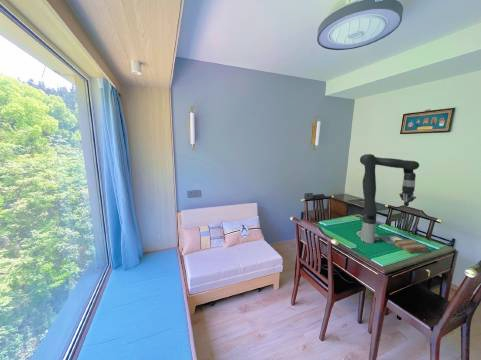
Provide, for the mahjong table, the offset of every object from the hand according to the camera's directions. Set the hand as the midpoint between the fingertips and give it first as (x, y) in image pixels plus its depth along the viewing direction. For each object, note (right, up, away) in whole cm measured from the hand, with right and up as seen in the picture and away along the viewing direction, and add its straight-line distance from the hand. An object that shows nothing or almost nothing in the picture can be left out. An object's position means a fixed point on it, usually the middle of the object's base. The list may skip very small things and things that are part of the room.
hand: (406, 206), depth 156 cm
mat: (-2, -31, +11) cm, 33 cm away
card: (-1, -31, +7) cm, 32 cm away
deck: (-1, -33, -5) cm, 33 cm away
